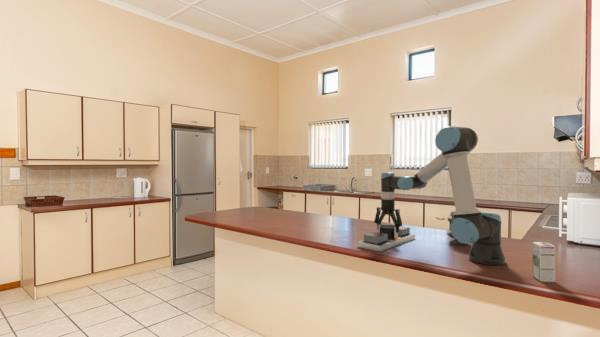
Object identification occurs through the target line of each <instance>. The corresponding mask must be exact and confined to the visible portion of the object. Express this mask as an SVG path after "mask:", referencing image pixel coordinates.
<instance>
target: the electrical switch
mask: <svg viewBox="0 0 600 337" xmlns="http://www.w3.org/2000/svg"><path fill="white" fill-rule="evenodd" d="M394 227H395V224H394V223H392V224H391V223H381V224H380V232H381V233H384V234H388V240H394V239H395V238H394Z"/></svg>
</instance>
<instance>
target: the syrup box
mask: <svg viewBox="0 0 600 337" xmlns="http://www.w3.org/2000/svg"><path fill="white" fill-rule="evenodd" d="M532 277H533V278H534V279H536V280H537V281H539V282H543V283H544V282H545V283H556V245H554V244H552V243H549V242H546V241H545V242H544V241H533V242H532Z"/></svg>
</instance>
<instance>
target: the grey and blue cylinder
mask: <svg viewBox="0 0 600 337" xmlns="http://www.w3.org/2000/svg"><path fill="white" fill-rule="evenodd" d="M454 212H455V211H450V214H449V215H448V216H447V219H446V220H447V221H448V222H449V228H448V229H447V231H446V234H447V236H448V237H450V238H452V239H451V240H450V241H448V243H449V244H451V245H454V246H456V245H457V246H466V245H468V244H465V243H461V242H459V241H458V240H457V239H455V238H454V237H453V235H452V233H451V231H450V225H451V223H452V221H453V220H454V218H453V213H454Z"/></svg>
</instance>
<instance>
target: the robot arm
mask: <svg viewBox="0 0 600 337" xmlns="http://www.w3.org/2000/svg"><path fill="white" fill-rule="evenodd" d="M478 141H479V137H478V135H477V133H476V131H475V130H474V129H472V128H469V127H463V126H455V125H454V126H445V127H442V128H441V129H440V130H439V131H438V132H437V134H436V135H435V140H434V142H435V146H436V148H437V149H438V150H439V151H441V153H439V154H438V155H437V156H436V157H435V158H433V159H432V160H431V161H429V163H427V164H426V165H425V166H423V168H421V169H420V170H419V171H418V172H417V173H416V174H414V175H403V176H400V175H399V176H398V175H397V176H396V175H395V172H389V171H387V172H385V171H384V172H382V173H381V177H380V184H381V186H380V187H381V189H380V192H381V193H380V198H381V201H380V202H381V206H378V207H376V213H375V217H374V221H373V223H374V224H376V227H377V228H376V229H377V230H378V233H381V232H380V224H382V222H383V220H384V219H385V216H386V215H387V216H390V218H391V220H392V222H393V224H394V225H395V227H394V238H395V239H396V238H398V232H399V227H400V226H403V222H402V221H403V220H402V218H401V214H400V212H401V209H400V208H395V205H396V204H395V202H396V201H395V190H401V191H410V190H414V189H415V190H417V189H418V190H420V189H424V188H425V187H427V185H428V183H429V181H431V180H432V179H433V178H435V177H436V176H437V175H438V174H440V173H441V172H443V171H444V170H445V169H447V168H448V174H449V175H448V176H449V179H450V184H451V190H452V196H453V201H454V208H455V211H453V212H454V213H453V218H454V220H453V221H452V223H451V225H450V224H449V225H450V231H451V233H452V235H453V237H454V238H455V239H457V240H458V241H459V242H461V243H465V244H467V245H469V244H472V245H471V247H470V249H469V252H468V261H469V260H470V261H471V262H473V263H476V264H479V265H480V264H482V265H487V266H502V265H505V264H506V257H505V254H504V252H503V249H502V246H501V245H502V218H501V215H500V214H498V213H492V212H483V211H481V210H480V209H478V208H477V204H476V200H475V194H474V188H473V183H472V178H471V173H470V172H471V171H470V166H469V162H468V161H469V160H468V155H469V154H470V153H471V152H472V151H473V150H474V149H475V148H476V146H477V144H478ZM454 238H453V239H454ZM455 239H454V240H455Z"/></svg>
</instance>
